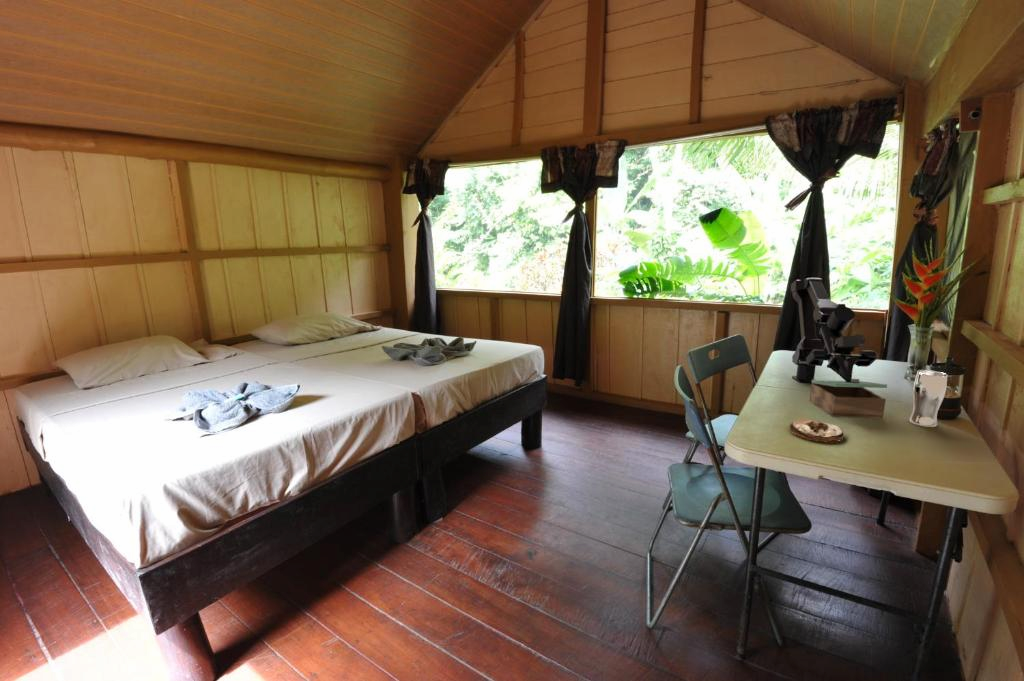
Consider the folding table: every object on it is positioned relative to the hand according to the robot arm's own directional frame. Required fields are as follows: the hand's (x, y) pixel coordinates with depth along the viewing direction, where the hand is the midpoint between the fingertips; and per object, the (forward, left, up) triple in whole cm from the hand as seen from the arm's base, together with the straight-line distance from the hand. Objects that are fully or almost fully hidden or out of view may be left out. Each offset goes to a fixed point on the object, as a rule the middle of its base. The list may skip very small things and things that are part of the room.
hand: (849, 381), depth 149 cm
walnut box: (0, 0, -9) cm, 9 cm away
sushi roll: (+20, -18, -10) cm, 28 cm away
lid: (-1, 0, -1) cm, 2 cm away
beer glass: (+10, +16, -9) cm, 21 cm away
